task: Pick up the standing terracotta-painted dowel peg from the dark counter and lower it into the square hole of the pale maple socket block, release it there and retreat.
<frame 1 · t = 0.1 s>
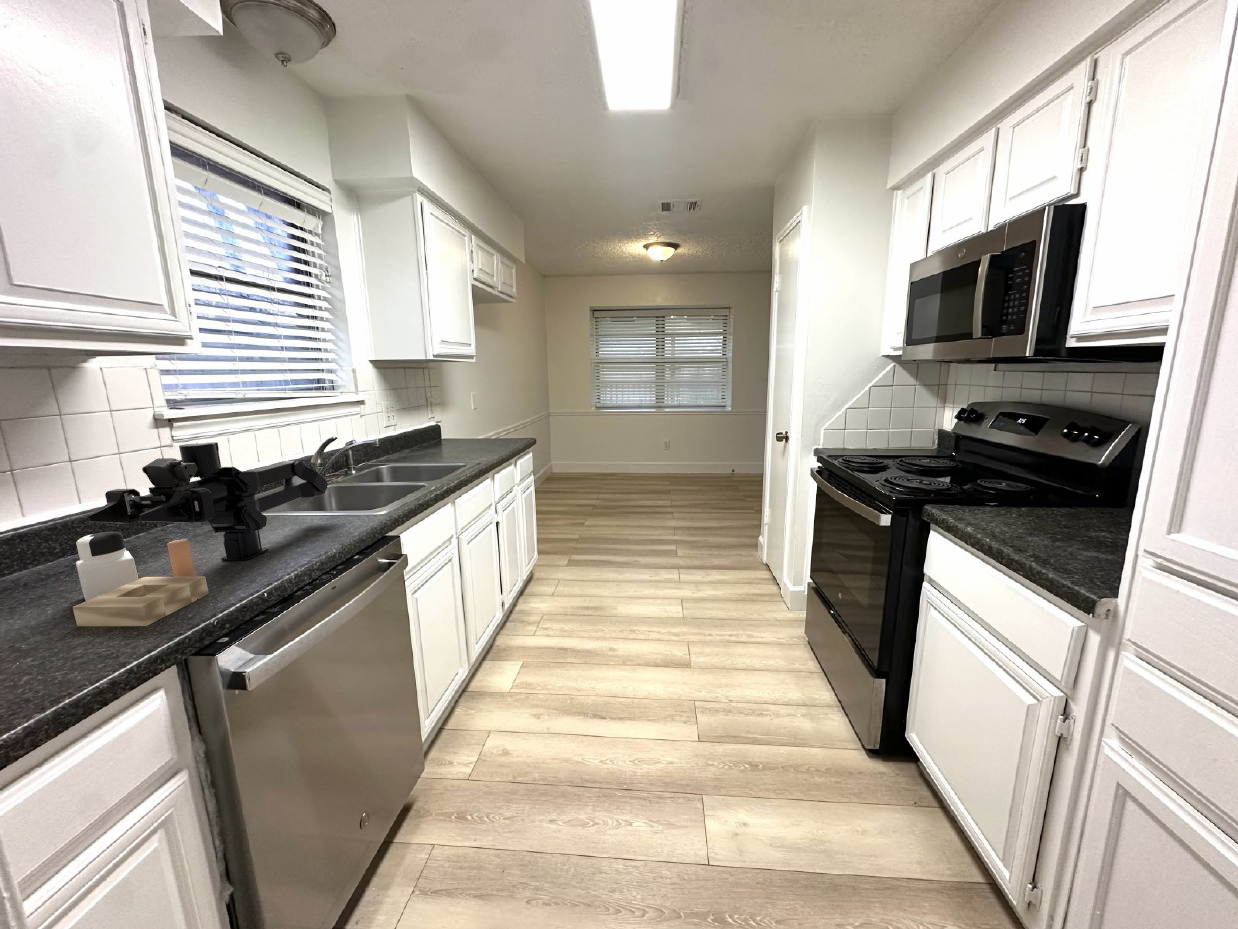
hand: (114, 518, 85), 17 cm above the worktop, tool horizontal, fingers open, 9 cm apart
medicine bottle: (113, 595, 94), on the worktop
peg: (187, 585, 98), on the worktop
socket block: (147, 609, 88), on the worktop
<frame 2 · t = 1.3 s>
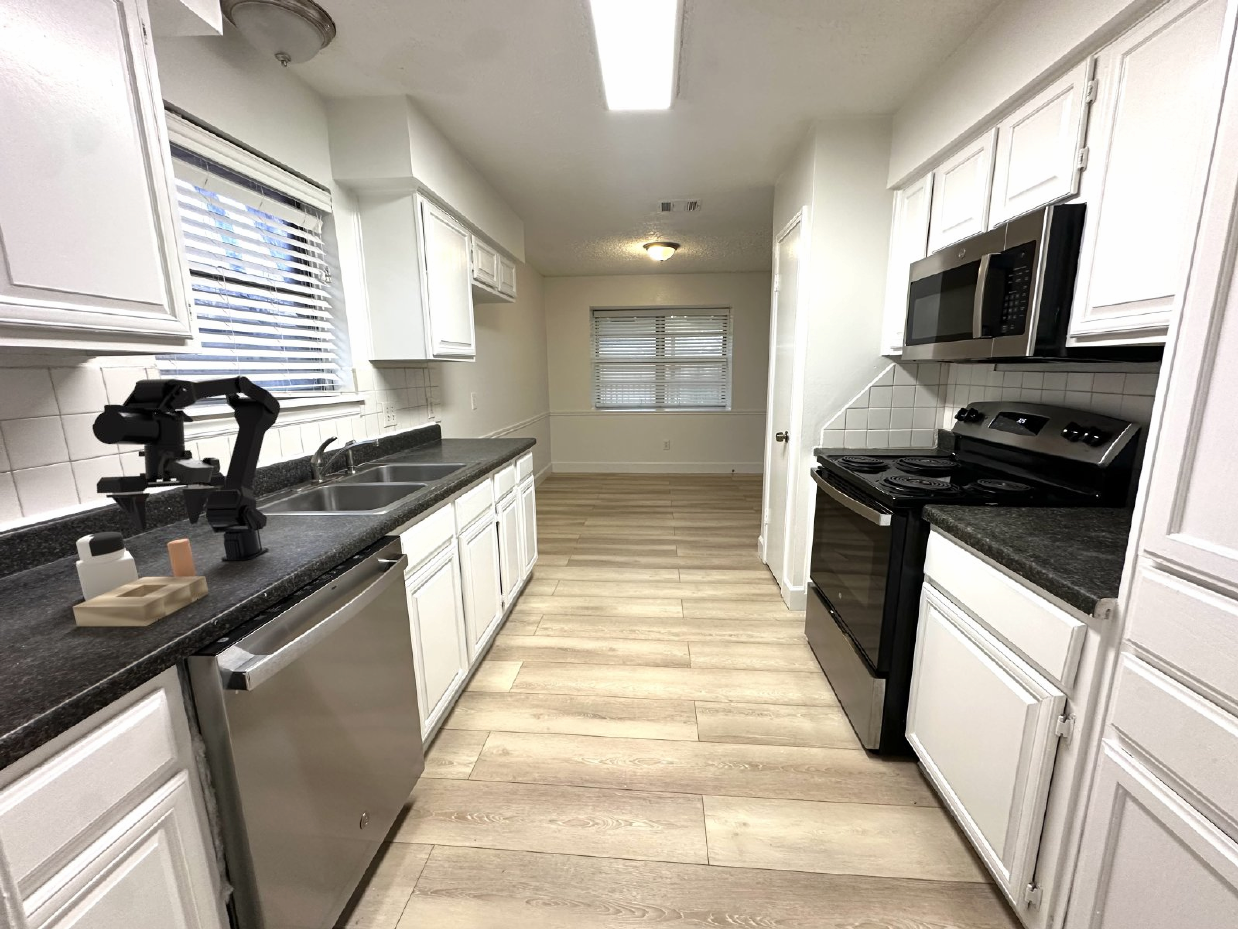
hand: (169, 527, 94), 12 cm above the worktop, tool pointing down, fingers open, 9 cm apart
nothing on the worktop moved.
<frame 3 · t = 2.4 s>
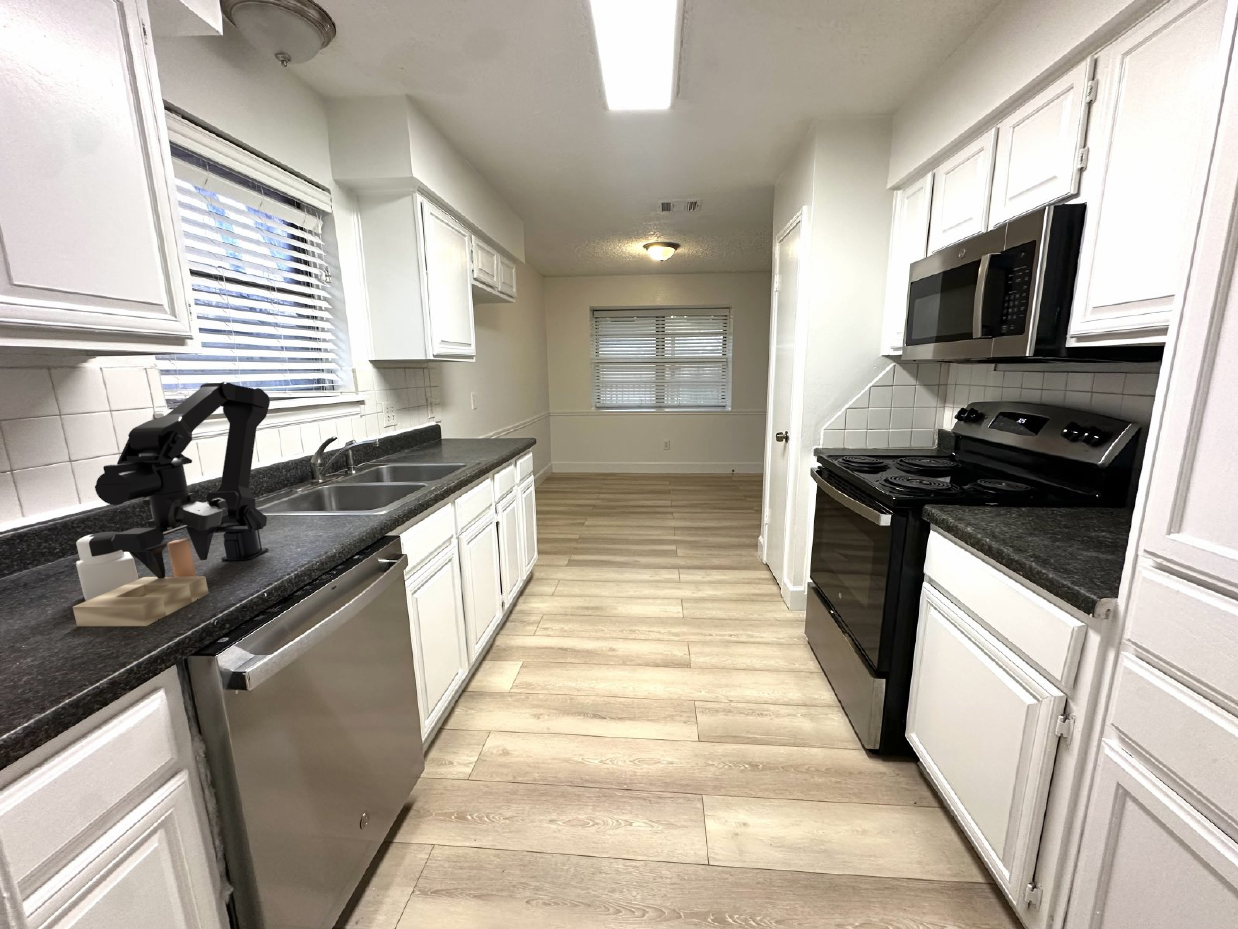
hand: (183, 568, 97), 3 cm above the worktop, tool pointing down, fingers open, 9 cm apart
nothing on the worktop moved.
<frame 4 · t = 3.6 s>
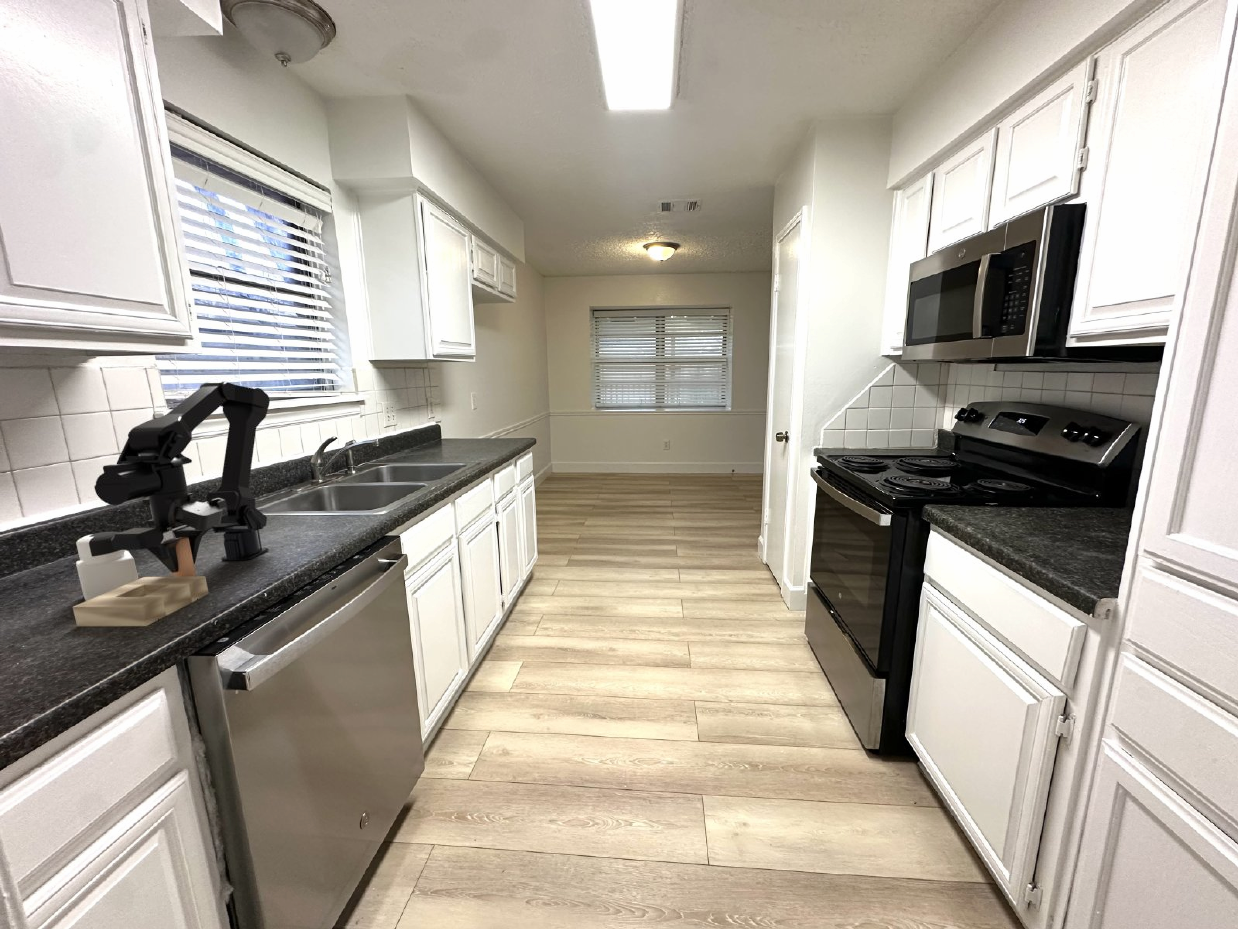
hand: (183, 568, 97), 3 cm above the worktop, tool pointing down, fingers closed on peg, 3 cm apart
peg: (186, 583, 98), on the worktop, touching gripper
everything else where it was.
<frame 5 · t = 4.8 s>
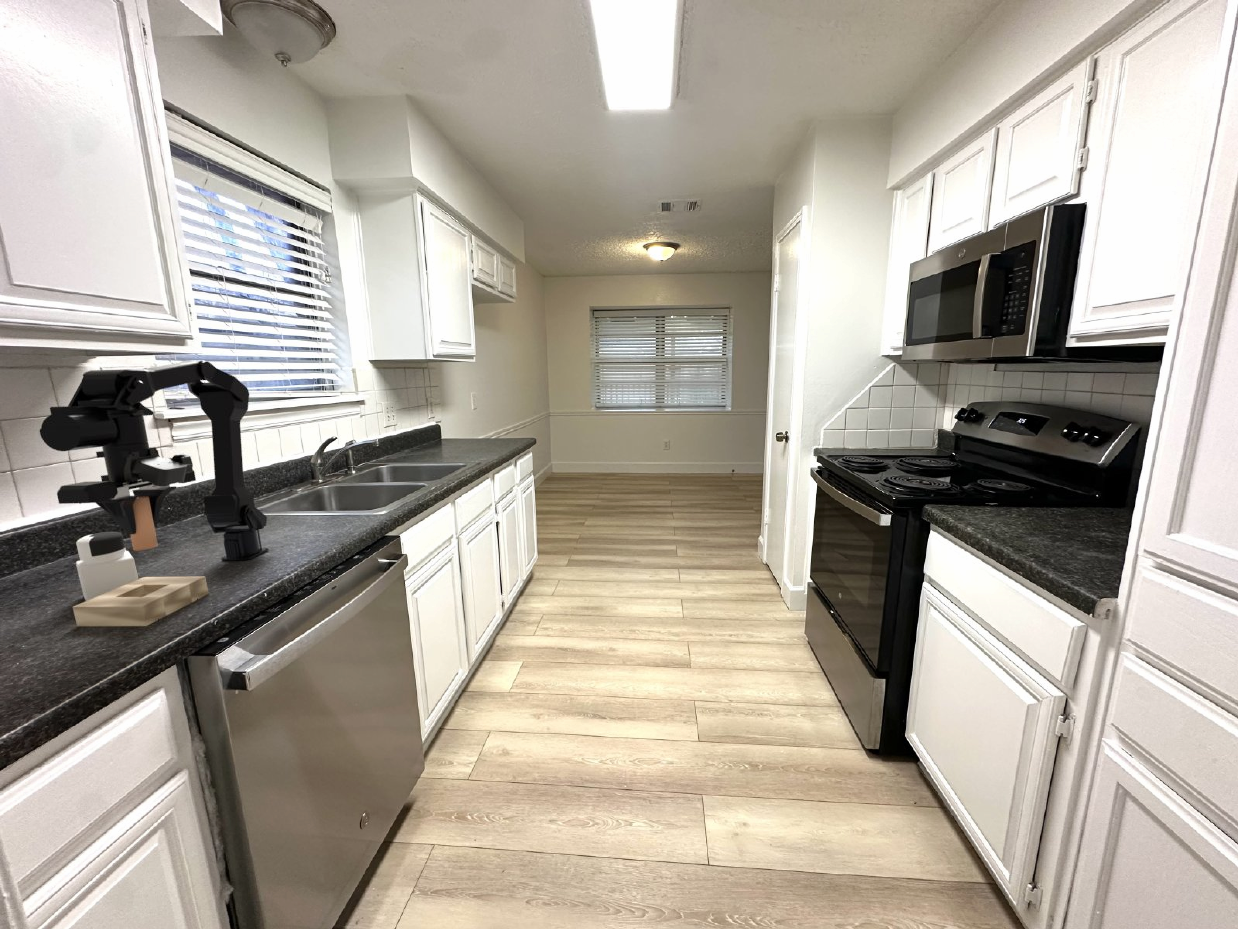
hand: (142, 531, 88), 14 cm above the worktop, tool pointing down, fingers closed on peg, 3 cm apart
peg: (145, 547, 88), point 11 cm above the worktop, touching gripper
everything else where it was.
when the fingers open (5 cm above the worktop, at t = 6.7 s): peg drops 2 cm, resting in socket block.
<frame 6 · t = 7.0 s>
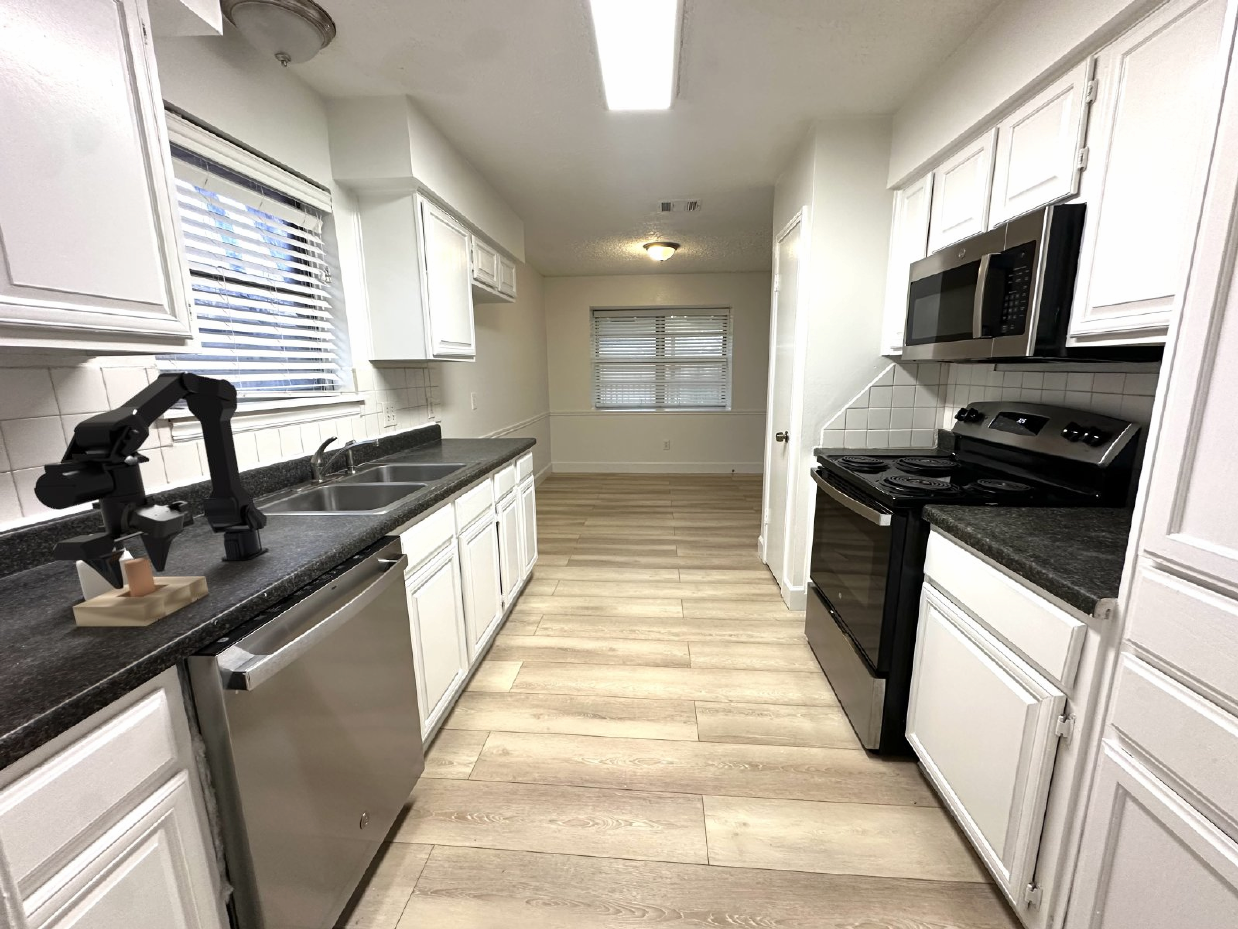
hand: (140, 579, 87), 5 cm above the worktop, tool pointing down, fingers open, 7 cm apart
peg: (147, 609, 88), resting in socket block
everything else where it was.
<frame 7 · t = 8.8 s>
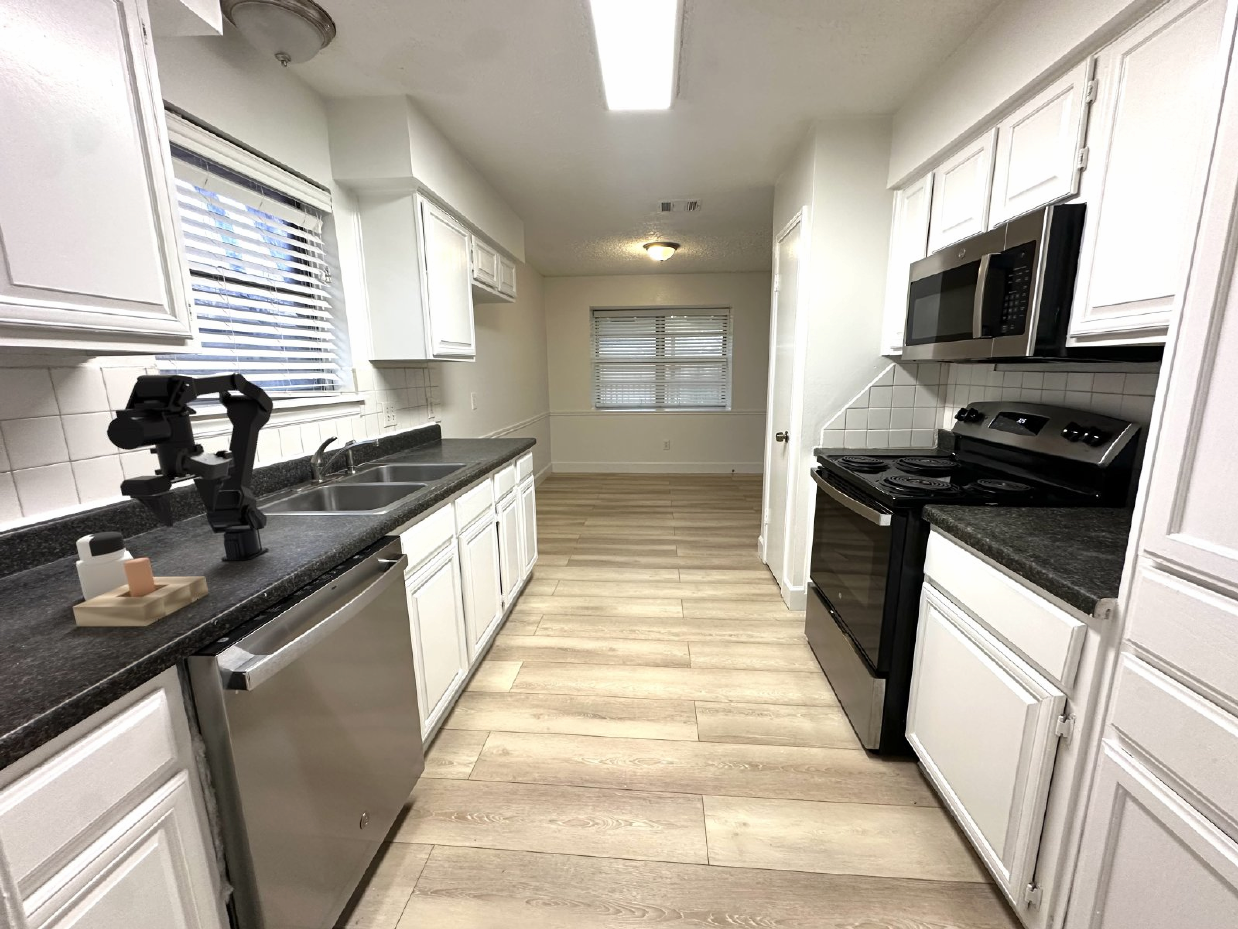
hand: (191, 519, 98), 13 cm above the worktop, tool pointing down, fingers open, 9 cm apart
nothing on the worktop moved.
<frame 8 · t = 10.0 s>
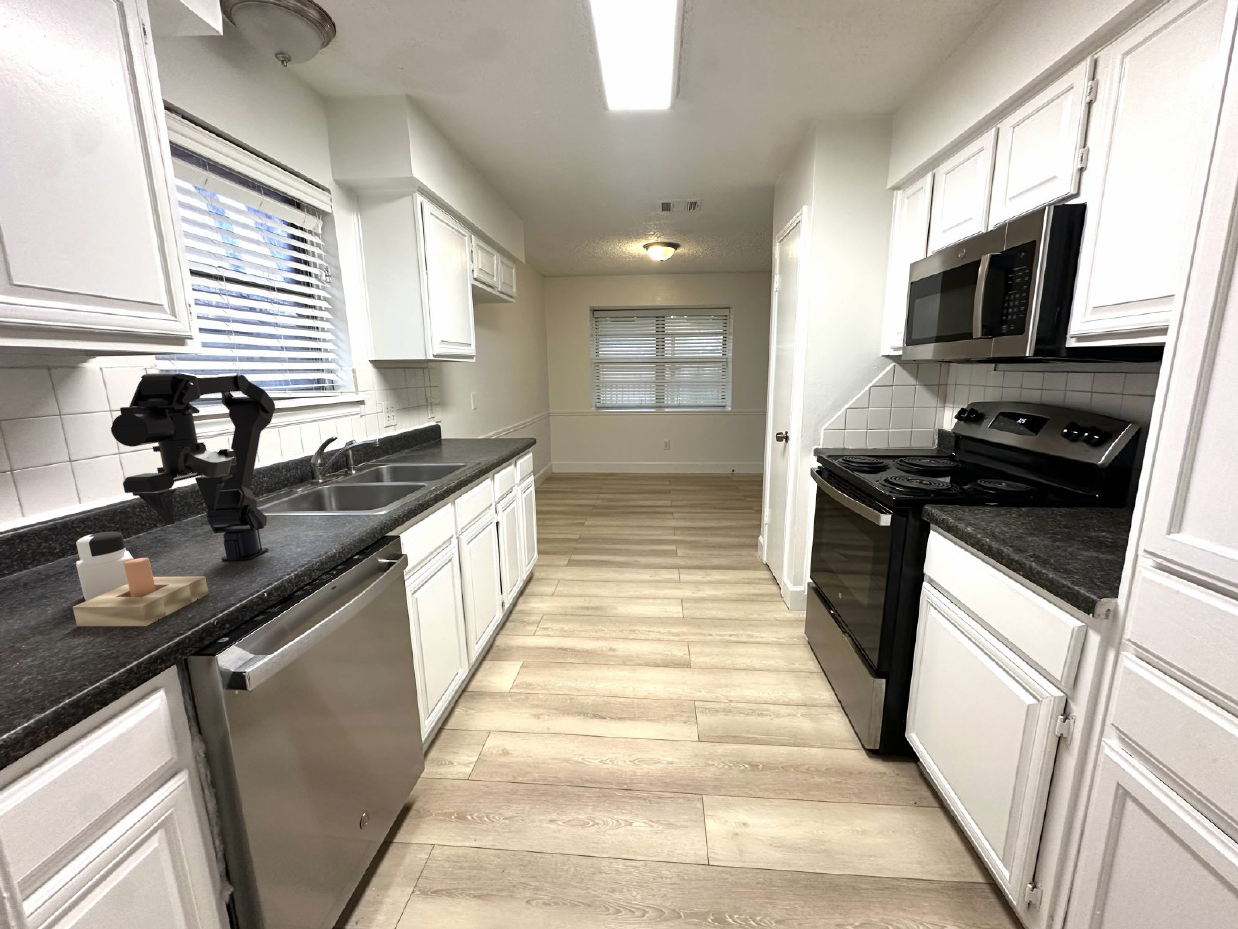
hand: (192, 517, 98), 13 cm above the worktop, tool pointing down, fingers open, 9 cm apart
nothing on the worktop moved.
at the end: peg 0.0 cm off-centre on the socket block, point 0.0 cm above the socket block's base; peg tilted 0°; the gripper is holding nothing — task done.
